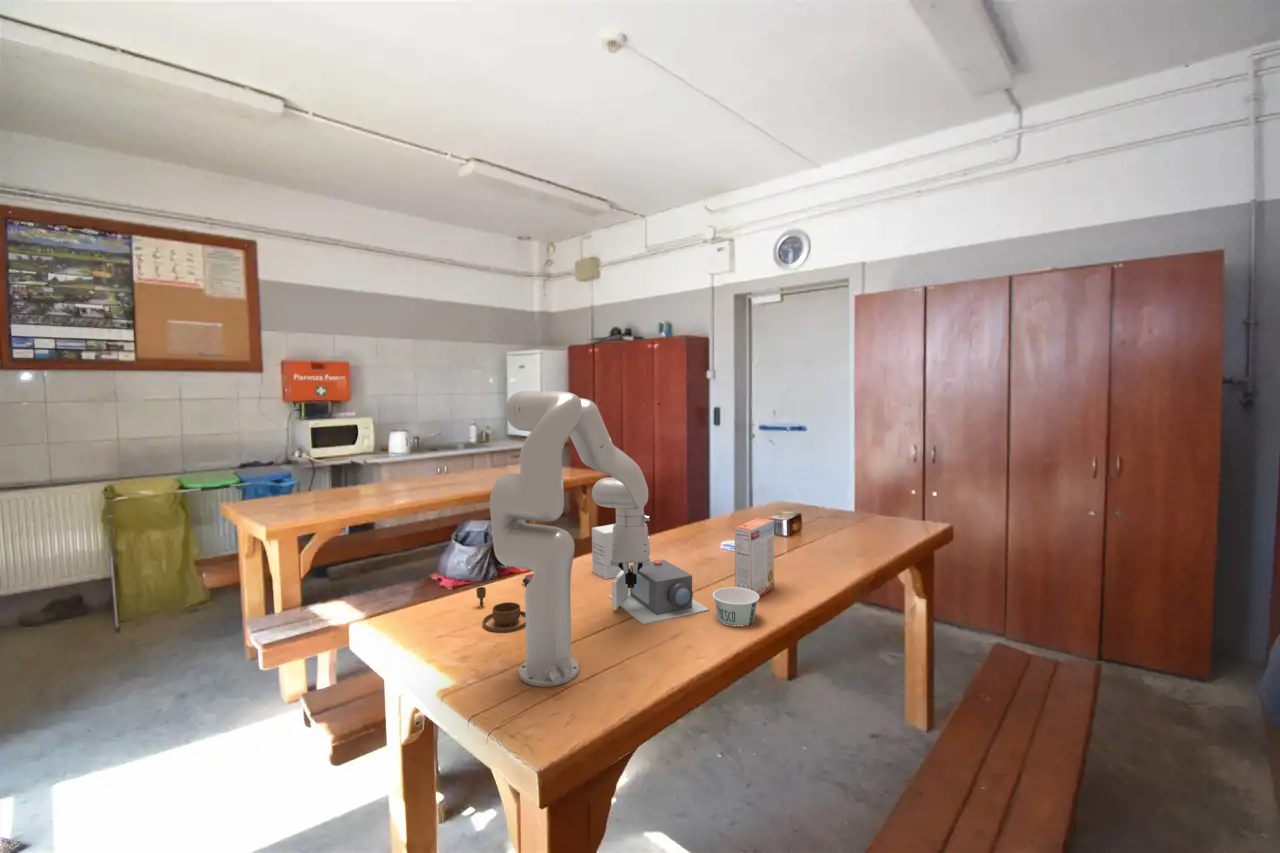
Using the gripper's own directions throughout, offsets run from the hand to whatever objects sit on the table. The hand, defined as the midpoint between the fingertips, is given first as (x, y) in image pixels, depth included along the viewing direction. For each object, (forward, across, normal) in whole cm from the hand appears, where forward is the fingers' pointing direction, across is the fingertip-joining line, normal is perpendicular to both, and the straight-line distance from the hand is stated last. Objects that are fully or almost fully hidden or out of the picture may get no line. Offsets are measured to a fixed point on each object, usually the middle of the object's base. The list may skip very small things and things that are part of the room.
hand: (631, 586), depth 160 cm
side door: (+6, +3, -4) cm, 7 cm away
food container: (+7, -28, +5) cm, 29 cm away
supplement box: (+7, +9, -30) cm, 32 cm away
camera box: (+7, -8, -5) cm, 12 cm away
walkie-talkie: (+7, +28, -13) cm, 31 cm away
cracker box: (+7, -35, -14) cm, 38 cm away
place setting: (+7, +33, +6) cm, 34 cm away
